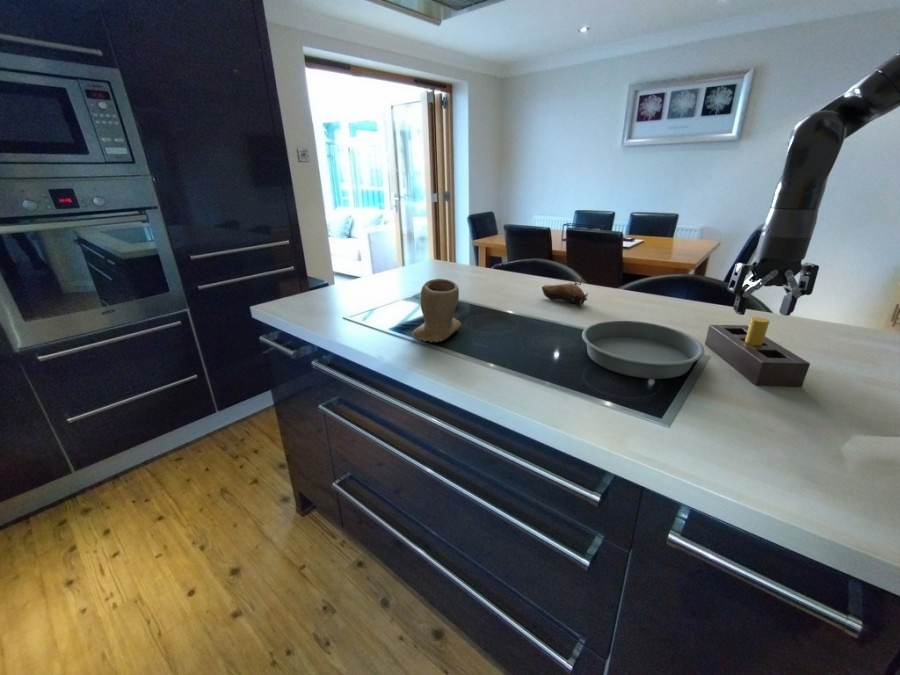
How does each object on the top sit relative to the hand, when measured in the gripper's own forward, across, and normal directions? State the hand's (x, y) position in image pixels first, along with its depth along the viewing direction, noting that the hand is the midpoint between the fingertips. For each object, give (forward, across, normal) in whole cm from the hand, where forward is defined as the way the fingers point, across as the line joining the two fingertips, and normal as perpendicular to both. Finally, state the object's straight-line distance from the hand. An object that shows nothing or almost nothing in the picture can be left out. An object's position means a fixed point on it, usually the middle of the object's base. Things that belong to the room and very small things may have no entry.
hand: (761, 314), depth 80 cm
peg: (+11, 0, 0) cm, 11 cm away
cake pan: (+12, -22, +2) cm, 25 cm away
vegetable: (+12, -33, +43) cm, 55 cm away
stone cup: (+12, -69, +14) cm, 71 cm away
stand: (+11, 0, 0) cm, 11 cm away
